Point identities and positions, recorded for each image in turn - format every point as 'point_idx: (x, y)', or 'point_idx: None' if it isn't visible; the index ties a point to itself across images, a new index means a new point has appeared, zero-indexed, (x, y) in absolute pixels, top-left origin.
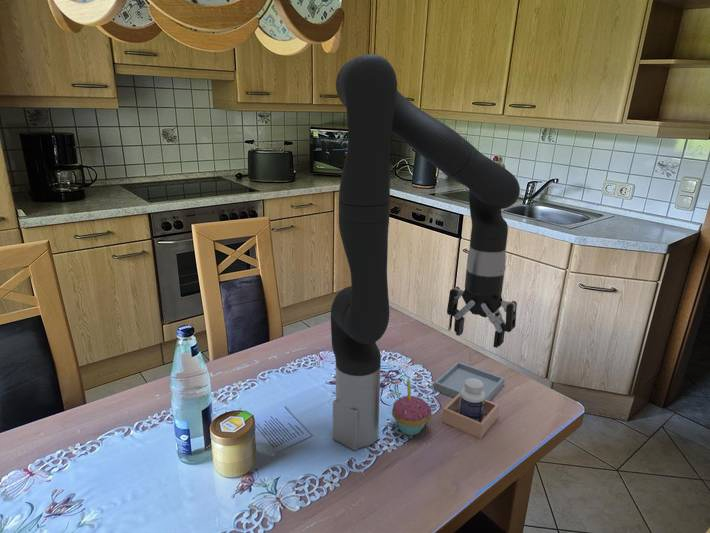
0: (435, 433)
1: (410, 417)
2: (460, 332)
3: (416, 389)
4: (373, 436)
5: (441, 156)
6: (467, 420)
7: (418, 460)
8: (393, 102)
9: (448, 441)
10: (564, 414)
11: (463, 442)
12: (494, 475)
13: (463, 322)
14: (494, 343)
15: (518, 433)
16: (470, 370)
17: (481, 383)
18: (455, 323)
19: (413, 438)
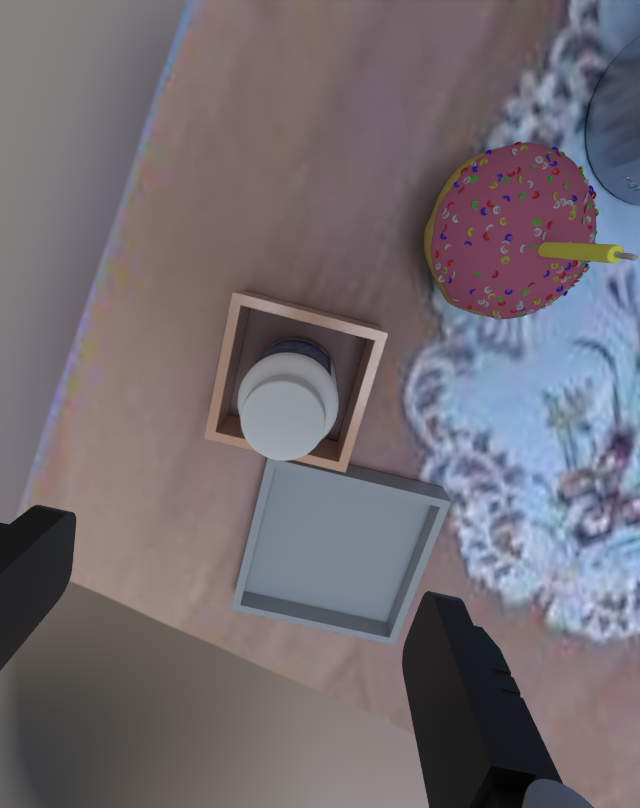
0: (389, 253)
1: (510, 150)
2: (424, 632)
3: (498, 466)
4: (616, 72)
5: None
6: (290, 306)
7: (416, 73)
8: None
9: (339, 229)
10: None
11: (291, 246)
12: (161, 116)
13: (429, 773)
14: (37, 528)
15: (142, 369)
16: (345, 619)
17: (249, 430)
18: (524, 723)
19: None
